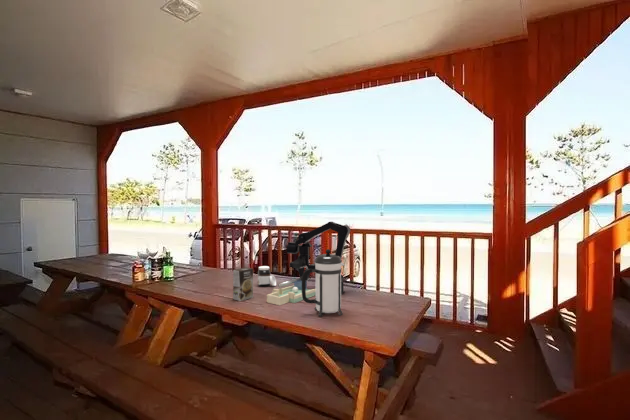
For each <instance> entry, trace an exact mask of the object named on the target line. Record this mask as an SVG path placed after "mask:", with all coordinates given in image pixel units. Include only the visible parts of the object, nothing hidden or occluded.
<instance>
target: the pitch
mask: <svg viewBox="0 0 630 420" xmlns="http://www.w3.org/2000/svg"><path fill="white" fill-rule="evenodd" d="M293 287H294V284H292V285H289V286H286V287H282V288H281V287H279V288H272V291H271V293H268V294H266V303H268V304H273V305H275V306H282V305H285V304H288V303H292V304H296V303H299V302H302V301H304V300H303V298H302V289H298V292H296V293H294V292H293V291H292V289H293ZM314 296H315V297H316V287H315V288H312V289H310V288H309V289H308V288H307V290H306V298H307V299H309V298H311V297H314Z"/></svg>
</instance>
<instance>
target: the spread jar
mask: <svg viewBox="0 0 630 420" xmlns="http://www.w3.org/2000/svg"><path fill="white" fill-rule="evenodd" d="M257 286H258V287H262V288H263V287H264V288H265V287H270V286H272V287H276V286H277V279H276V277H275V275H274V274H271V270H270V266H268V265H262V266H261V265H260V266H258V271H257Z"/></svg>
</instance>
